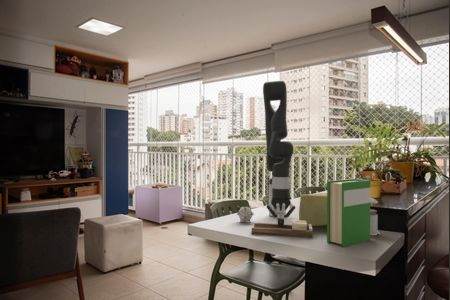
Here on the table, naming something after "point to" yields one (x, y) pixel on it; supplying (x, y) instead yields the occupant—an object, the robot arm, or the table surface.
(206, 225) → the table surface
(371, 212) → the french press
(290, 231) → the chute
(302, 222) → the maple block
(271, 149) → the robot arm
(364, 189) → the hardback book
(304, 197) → the cheese
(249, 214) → the grey bumpy ball
